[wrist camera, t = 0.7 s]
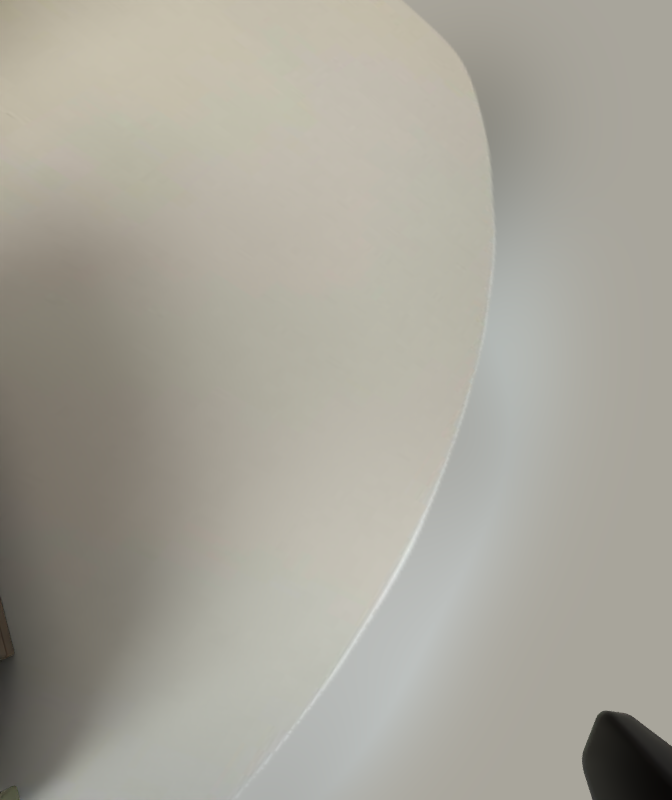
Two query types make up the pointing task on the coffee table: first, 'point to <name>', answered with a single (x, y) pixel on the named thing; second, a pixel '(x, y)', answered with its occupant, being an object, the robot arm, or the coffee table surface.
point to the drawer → (10, 794)
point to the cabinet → (4, 637)
